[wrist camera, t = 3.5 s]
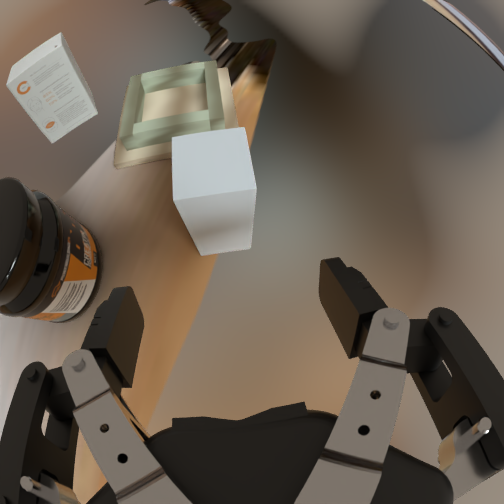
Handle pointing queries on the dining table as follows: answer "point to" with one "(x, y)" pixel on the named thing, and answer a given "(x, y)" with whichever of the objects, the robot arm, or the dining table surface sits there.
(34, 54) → the small box
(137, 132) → the cradle jig
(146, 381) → the dining table surface
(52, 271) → the supplement container
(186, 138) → the block
